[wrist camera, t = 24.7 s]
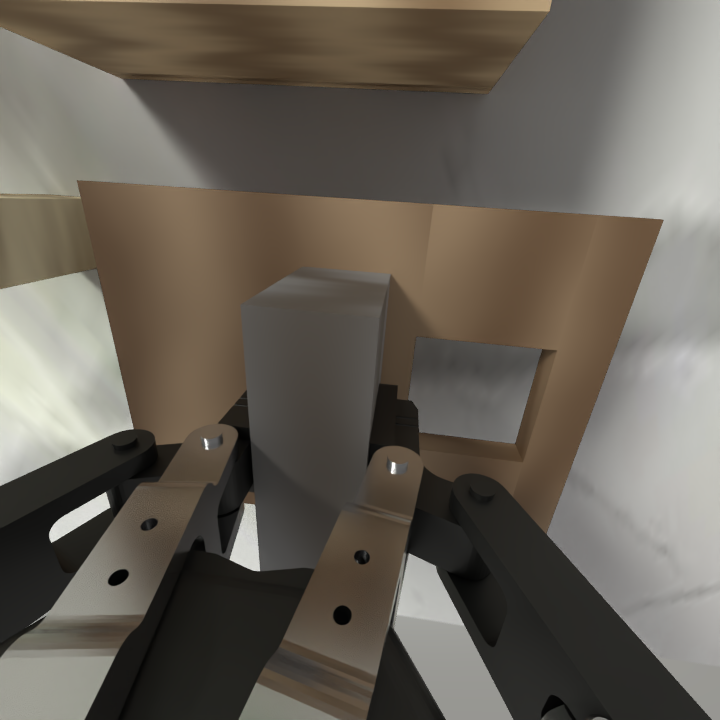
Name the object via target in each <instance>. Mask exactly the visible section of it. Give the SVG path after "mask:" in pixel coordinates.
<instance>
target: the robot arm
mask: <svg viewBox="0 0 720 720" xmlns="http://www.w3.org/2000/svg"><path fill="white" fill-rule="evenodd" d="M397 391H398V385H390V384H381V383H379V387H378V394H377V400H376V406H375V412H374V418H373V424H372V430H371V436H370V442H369V453H368V464H367V470H366V473H365V475H364V477H363V480H362V482H361V484H360V487H359V489H358V491H357V494H356V496H355V498H354V500H353V503H351V502H346V503H345V505H344V506H343V508H342V510H341V513H340V515H339V517H338V519H337V521H336V524H335V526H334V528H333V530H332V532H331V535H330V537H329V539H328V541H327V543H326V546H325V548H324V550H323V552H322V554H321V557H320V559H319V561H318V563H317V565H316V568H315V569H311V568H293V569H282V570H270V571H252V570H250V569H247V568H245V567H243V566H241V565H239V564H237V563H235V562H233V561H230V560H229V559H230V556H231V552H232V549H233V546H234V542H235V539H236V536H237V533H238V529H239V526H240V523H241V519H242V516H243V513H244V509H245V508H244V499H245V497H246V495H247V493H248V492H254V479H253V466H252V453H251V439H250V426H249V413H248V399H247V390H246V391H245V392H244V393H243V395H242V396H241V397H240V399H238V400H237V401H236V403H235V405H233V406H232V407H231V408H230V410H229V411H228V412H227V413H226V414H225V415H224V417H223V418H222V419H221V420H220V421H219V422H218V424H210V425H206V426H203V427H200V428H198V429H196V430H194V431H192V432H191V433H190V434H189V435H188V436H187V437H186V439H185V440H184V442H183V443H176V444H164V445H156V441H155V436H154V434H153V433H152V432H150V431H147V430H143V429H132V430H126V431H122V432H118V433H115V434H113V435H111V436H108V437H106V438H104V439H102V440H100V441H98V442H95V443H93V444H91V445H89V446H87V447H84V448H82V449H80V450H78V451H76V452H74V453H71V454H69V455H67V456H65V457H63V458H61V459H58V460H56V461H54V462H52V463H50V464H47V465H45V466H43V467H41V468H39V469H37V470H34V471H32V472H30V473H28V474H26V475H24V476H21V477H19V478H17V479H15V480H13V481H10V482H8V483H6V484H4V485H2V486H0V720H446V719H445V717H444V716H443V714H442V712H441V710H440V709H439V707H438V705H437V703H436V702H435V700H434V699H433V697H432V695H431V693H430V691H429V689H428V688H427V686H426V684H425V682H424V681H423V679H422V677H421V675H420V674H419V672H418V671H417V669H416V667H415V665H414V663H413V662H412V660H411V658H410V656H409V655H408V653H407V651H406V649H405V648H404V646H403V644H402V642H401V641H400V639H399V637H398V635H397V634H396V632H395V631H394V625H395V620H396V615H397V609H398V604H399V599H400V594H401V589H402V584H403V580H404V575H405V570H406V565H407V560H408V555H409V553H410V554H412V555H414V556H416V557H418V558H421V559H423V560H425V561H427V562H429V563H431V564H433V565H435V566H436V568H437V572H438V575H439V577H440V579H441V581H442V582H443V584H444V586H445V588H446V590H447V592H448V594H449V596H450V598H451V600H452V602H453V604H454V606H455V608H456V609H457V611H458V613H459V615H460V617H461V619H462V621H463V623H464V625H465V627H466V629H467V631H468V633H469V634H470V636H471V638H472V640H473V642H474V644H475V646H476V648H477V650H478V652H479V654H480V656H481V658H482V660H483V662H484V663H485V665H486V667H487V669H488V671H489V673H490V675H491V677H492V679H493V681H494V683H495V685H496V687H497V689H498V690H499V692H500V694H501V696H502V698H503V700H504V702H505V704H506V706H507V708H508V710H509V712H510V714H511V716H512V718H513V719H514V720H712V719H711V718H710V717H709V716H708V715H707V714H706V713H705V712H704V711H703V709H702V708H701V707H700V706H699V705H698V704H697V703H696V702H695V701H694V700H693V698H692V697H691V696H690V695H689V694H688V693H687V692H686V690H685V689H684V688H683V687H682V686H681V685H680V684H679V683H678V681H676V679H675V678H674V677H673V676H672V675H671V674H670V672H668V670H667V669H666V668H665V667H664V666H663V665H662V663H661V662H660V661H659V660H658V659H657V658H656V657H655V656H654V654H653V653H652V652H651V651H650V650H649V649H648V648H647V647H646V645H645V644H644V643H643V642H642V641H641V640H640V639H639V638H638V637H637V635H636V634H635V633H634V632H633V631H632V630H631V629H630V628H629V626H628V625H627V624H626V623H625V622H624V621H623V620H622V619H621V617H620V616H619V615H618V614H617V613H616V612H615V611H614V610H613V609H612V607H611V606H610V605H609V604H608V603H607V602H606V601H605V600H604V598H603V597H602V596H601V595H600V594H599V593H598V592H597V591H596V589H595V588H594V587H593V586H592V585H591V584H590V583H589V582H588V580H587V579H586V578H585V577H584V576H583V575H582V574H581V573H580V572H579V570H578V569H577V568H576V567H575V566H574V565H573V564H572V563H571V561H570V560H569V559H568V558H567V557H566V556H565V555H564V554H563V552H562V551H561V550H560V549H559V548H558V547H557V546H556V545H555V543H554V542H553V541H552V540H551V539H550V538H549V537H548V536H547V535H546V533H545V532H544V531H543V530H542V529H541V528H540V527H539V526H538V524H537V523H536V522H535V521H534V520H533V519H532V518H531V517H530V515H529V514H528V513H527V512H526V511H525V510H524V509H523V508H522V507H521V505H520V504H519V503H518V502H517V501H516V500H515V499H514V498H513V496H512V495H511V494H510V493H509V492H508V491H507V490H506V489H505V488H504V487H503V486H502V485H501V484H500V483H499V482H497V481H496V480H494V479H492V478H490V477H487V476H485V475H481V474H475V473H469V474H463V475H461V476H459V477H457V478H456V479H455V480H454V482H451V481H448V480H446V479H443V478H440V477H438V476H436V475H434V474H433V473H431V472H430V471H429V470H428V469H426V467H425V466H424V464H423V461H422V459H421V458H420V449H419V428H418V426H419V425H418V409H417V408H416V406H415V405H414V403H413V402H412V401H409V400H400V399H397ZM104 492H106V493H107V497H108V500H109V504H110V508H109V509H107V510H106V511H104V512H102V513H101V514H99V515H97V516H96V517H94V518H92V519H91V520H89V521H87V522H86V523H84V524H83V525H81V526H79V527H78V528H76V529H74V530H73V531H71V532H69V533H68V534H66V535H64V536H63V537H61V538H59V539H58V540H56V541H54V542H52V543H51V541H50V539H49V532H50V529H51V527H52V526H53V525H54V523H55V522H56V521H57V520H58V519H60V518H61V517H63V516H64V515H66V514H68V513H69V512H71V511H73V510H75V509H76V508H78V507H80V506H82V505H83V504H85V503H87V502H89V501H90V500H92V499H94V498H96V497H97V496H99V495H101V494H103V493H104ZM49 610H50V612H49V613H48V614H47V616H45V617H44V618H42V619H40V620H38V621H37V622H35V623H33V622H34V621H36V620H37V619H38V618H40V617H41V616H43V615H44V614H45V613H47V612H48V611H49ZM32 623H33V624H32ZM30 624H32V625H30ZM29 625H30V626H29ZM27 626H28V627H27Z"/></svg>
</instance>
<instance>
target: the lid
mask: <svg viewBox="0 0 720 720" xmlns="http://www.w3.org/2000/svg"><path fill="white" fill-rule="evenodd" d="M77 183H78V187H79V192H80V196H81V201H82V205H83V209H84V214H85V218H86V222H87V227H88V231H89V235H90V240H91V244H92V248H93V253H94V257H95V262H96V266H97V270H98V275H99V279H100V283H101V288H102V292H103V296H104V301H105V305H106V309H107V314H108V318H109V323H110V327H111V331H112V336H113V340H114V344H115V349H116V353H117V357H118V362H119V366H120V370H121V375H122V379H123V384H124V388H125V392H126V397H127V401H128V405H129V410H130V414H131V418H132V423H133V427H134V429H143V430H147V431H150V432H152V433H153V434H154V436H155V441H156V445H164V444H176V443H183V442H184V440H185V439H186V437H187V436H188V435H189V434H190V433H191V432H192V431H194V430H196V429H198V428H200V427H203V426H206V425H210V424H218V422H219V421H220V420H221V419H222V418H223V417H224V415H225V414H226V413H227V412H228V411H229V410H230V408H231V407H232V406H233V405H235V403H236V401H237V400H238V399H240V397H241V396H242V395H243V393H244V392H245V391H246V390H247V399H248V413H249V426H250V439H251V453H252V466H253V479H254V492H248V493H247V495H246V497H245V499H244V503H248V504H255V506H256V520H257V533H258V546H259V560H260V571H270V570H282V569H293V568H311V569H315V568H316V565H317V563H318V561H319V559H320V557H321V554H322V552H323V550H324V548H325V546H326V543H327V541H328V539H329V537H330V535H331V532H332V530H333V528H334V526H335V524H336V521H337V519H338V517H339V515H340V513H341V510H342V508H343V506H344V505H345V503H346V502H351V503H353V500H354V498H355V496H356V494H357V491H358V489H359V487H360V484H361V482H362V480H363V477H364V475H365V473H366V470H367V464H368V453H369V442H370V436H371V430H372V424H373V418H374V412H375V406H376V400H377V394H378V387H379V383H381V384H390V385H398V391H397V399H400V400H408V395H409V387H410V379H411V372H412V364H413V357H414V349H415V341H416V337H426V338H436V339H446V340H456V341H466V342H477V343H487V344H497V345H507V346H517V347H527V348H537V349H542V352H541V355H540V359H539V362H538V366H537V369H536V373H535V376H534V380H533V383H532V387H531V390H530V394H529V397H528V401H527V404H526V408H525V411H524V415H523V418H522V422H521V425H520V429H519V432H518V436H517V439H516V443H515V444H510V443H502V442H494V441H485V440H477V439H469V438H461V437H453V436H445V435H436V434H428V433H420V432H419V449H420V458H421V459H422V461H423V464H424V466H425V467H426V469H428V470H429V471H430V472H431V473H433V474H434V475H436V476H438V477H440V478H443V479H446V480H448V481H451V482H454V480H455V479H456V478H457V477H459V476H461V475H463V474H469V473H475V474H481V475H485V476H487V477H490V478H492V479H494V480H496V481H497V482H499V483H500V484H501V485H502V486H503V487H504V488H505V489H506V490H507V491H508V492H509V493H510V494H511V495H512V496H513V498H514V499H515V500H516V501H517V502H518V503H519V504H520V505H521V507H522V508H523V509H524V510H525V511H526V512H527V513H528V514H529V515H530V517H531V518H532V519H533V520H534V521H535V522H536V523H537V524H538V526H539V527H540V528H541V529H542V530H543V531H544V532H545V533H547V530H548V528H549V525H550V522H551V520H552V517H553V514H554V512H555V509H556V506H557V504H558V501H559V498H560V496H561V493H562V490H563V488H564V485H565V482H566V480H567V477H568V474H569V471H570V469H571V466H572V463H573V461H574V458H575V455H576V453H577V450H578V447H579V445H580V442H581V439H582V437H583V434H584V431H585V429H586V426H587V423H588V421H589V418H590V415H591V413H592V410H593V407H594V405H595V402H596V399H597V397H598V394H599V391H600V389H601V386H602V383H603V381H604V378H605V375H606V373H607V370H608V367H609V365H610V362H611V359H612V357H613V354H614V351H615V349H616V346H617V343H618V341H619V338H620V335H621V333H622V330H623V327H624V325H625V322H626V319H627V316H628V314H629V311H630V308H631V306H632V303H633V300H634V298H635V295H636V292H637V290H638V287H639V284H640V282H641V279H642V276H643V274H644V271H645V268H646V266H647V263H648V260H649V258H650V255H651V252H652V250H653V247H654V244H655V242H656V239H657V236H658V234H659V231H660V228H661V226H662V223H663V220H661V219H647V218H633V217H618V216H603V215H588V214H573V213H558V212H543V211H528V210H513V209H498V208H483V207H468V206H453V205H438V204H423V203H409V202H394V201H379V200H364V199H349V198H334V197H319V196H304V195H289V194H274V193H259V192H244V191H229V190H214V189H199V188H185V187H170V186H155V185H140V184H125V183H110V182H94V181H78V180H77Z"/></svg>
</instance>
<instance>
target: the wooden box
mask: <svg viewBox="0 0 720 720" xmlns="http://www.w3.org/2000/svg"><path fill="white" fill-rule="evenodd" d="M551 2H552V0H0V27H2V28H4V29H7V30H9V31H11V32H14V33H16V34H18V35H21V36H23V37H25V38H28V39H30V40H32V41H35V42H37V43H40V44H42V45H44V46H47V47H49V48H51V49H54V50H56V51H58V52H61V53H63V54H65V55H68V56H70V57H72V58H75V59H77V60H79V61H82V62H84V63H86V64H89V65H91V66H93V67H96V68H98V69H100V70H103V71H105V72H107V73H110V74H112V75H115V76H117V77H119V78H122V79H143V80H167V81H191V82H215V83H239V84H263V85H287V86H311V87H335V88H359V89H383V90H407V91H431V92H455V93H478V94H488V93H489V92H490V91H491V89H492V88H493V87H494V85H495V84H496V83H497V81H498V80H499V79H500V77H501V76H502V75H503V73H504V72H505V70H506V69H507V68H508V66H509V65H510V64H511V62H512V61H513V60H514V58H515V57H516V56H517V54H518V53H519V52H520V50H521V49H522V48H523V46H524V45H525V44H526V42H527V41H528V40H529V38H530V37H531V36H532V34H533V33H534V32H535V30H536V29H537V28H538V26H539V25H540V24H541V22H542V21H543V20H544V18H545V17H546V16H547V14H548V13H549V11H550V7H551Z"/></svg>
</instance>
